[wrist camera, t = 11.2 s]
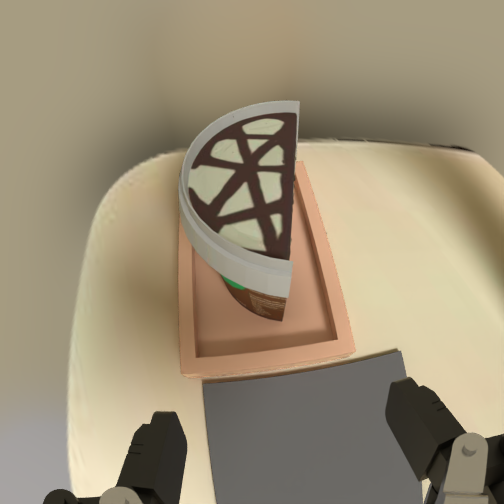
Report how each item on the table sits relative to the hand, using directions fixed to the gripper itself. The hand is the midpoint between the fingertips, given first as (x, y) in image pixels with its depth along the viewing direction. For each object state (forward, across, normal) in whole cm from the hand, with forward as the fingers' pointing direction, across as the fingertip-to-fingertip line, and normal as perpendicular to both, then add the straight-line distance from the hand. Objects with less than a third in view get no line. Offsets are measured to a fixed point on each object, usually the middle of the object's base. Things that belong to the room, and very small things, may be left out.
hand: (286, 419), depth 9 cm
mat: (+4, -2, +9) cm, 10 cm away
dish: (+15, 0, -2) cm, 15 cm away
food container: (+14, +1, -2) cm, 14 cm away
